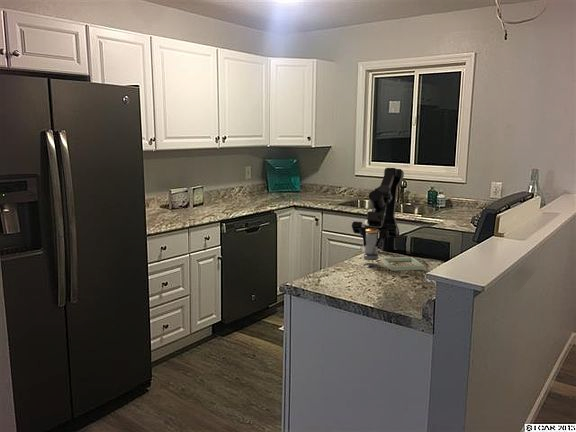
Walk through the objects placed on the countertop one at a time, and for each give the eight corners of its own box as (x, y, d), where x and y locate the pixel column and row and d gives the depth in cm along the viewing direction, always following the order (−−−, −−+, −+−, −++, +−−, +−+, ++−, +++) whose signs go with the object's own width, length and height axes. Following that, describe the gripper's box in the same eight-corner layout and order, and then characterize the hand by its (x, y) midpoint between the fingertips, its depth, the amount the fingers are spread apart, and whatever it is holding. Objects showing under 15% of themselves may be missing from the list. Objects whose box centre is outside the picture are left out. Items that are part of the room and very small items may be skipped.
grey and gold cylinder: (362, 256, 195) (363, 228, 193) (375, 256, 196) (376, 227, 193) (366, 260, 189) (367, 231, 187) (380, 260, 190) (381, 230, 188)
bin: (381, 263, 199) (381, 257, 199) (411, 262, 201) (411, 256, 200) (391, 272, 186) (391, 266, 186) (423, 271, 187) (424, 265, 187)
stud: (361, 265, 196) (361, 263, 196) (376, 265, 197) (376, 263, 196) (365, 270, 190) (365, 267, 189) (380, 269, 190) (380, 267, 190)
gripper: (353, 202, 195) (345, 233, 188) (397, 205, 188) (391, 237, 180) (357, 217, 204) (350, 247, 196) (400, 220, 197) (394, 252, 189)
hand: (370, 246), depth 190 cm, fingers closed on grey and gold cylinder, 5 cm apart
